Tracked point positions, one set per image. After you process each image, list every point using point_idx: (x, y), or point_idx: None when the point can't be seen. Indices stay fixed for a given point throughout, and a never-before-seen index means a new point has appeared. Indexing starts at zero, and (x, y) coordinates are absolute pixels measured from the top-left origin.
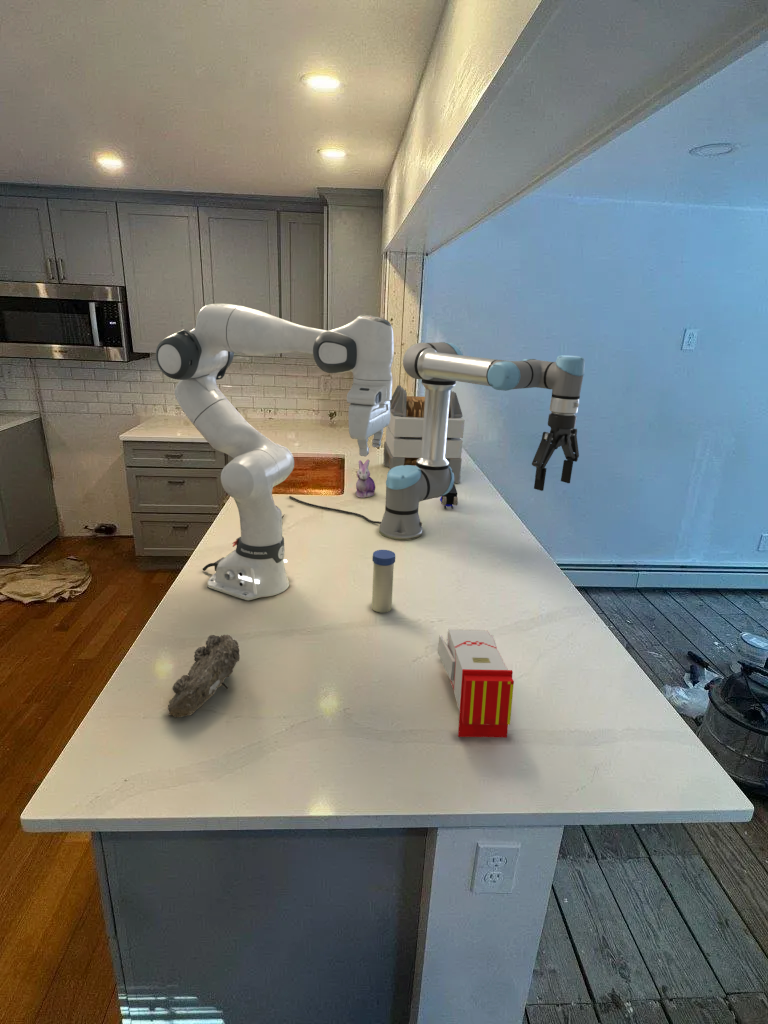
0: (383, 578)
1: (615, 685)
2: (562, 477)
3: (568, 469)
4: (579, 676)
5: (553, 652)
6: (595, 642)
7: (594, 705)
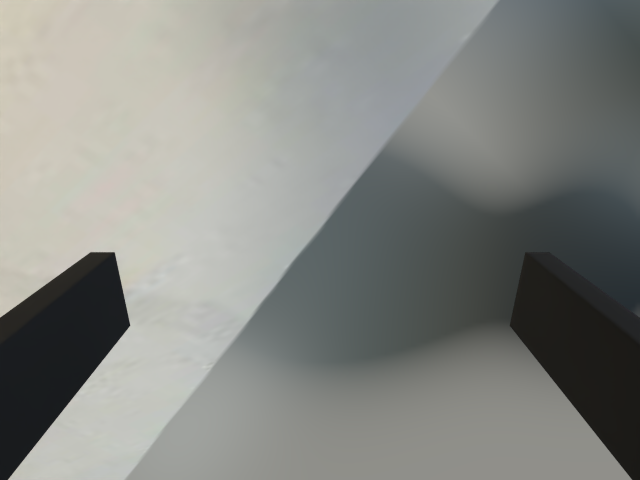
0: None
1: (76, 464)
2: (542, 284)
3: (596, 399)
4: None
5: None
6: (149, 400)
7: None
